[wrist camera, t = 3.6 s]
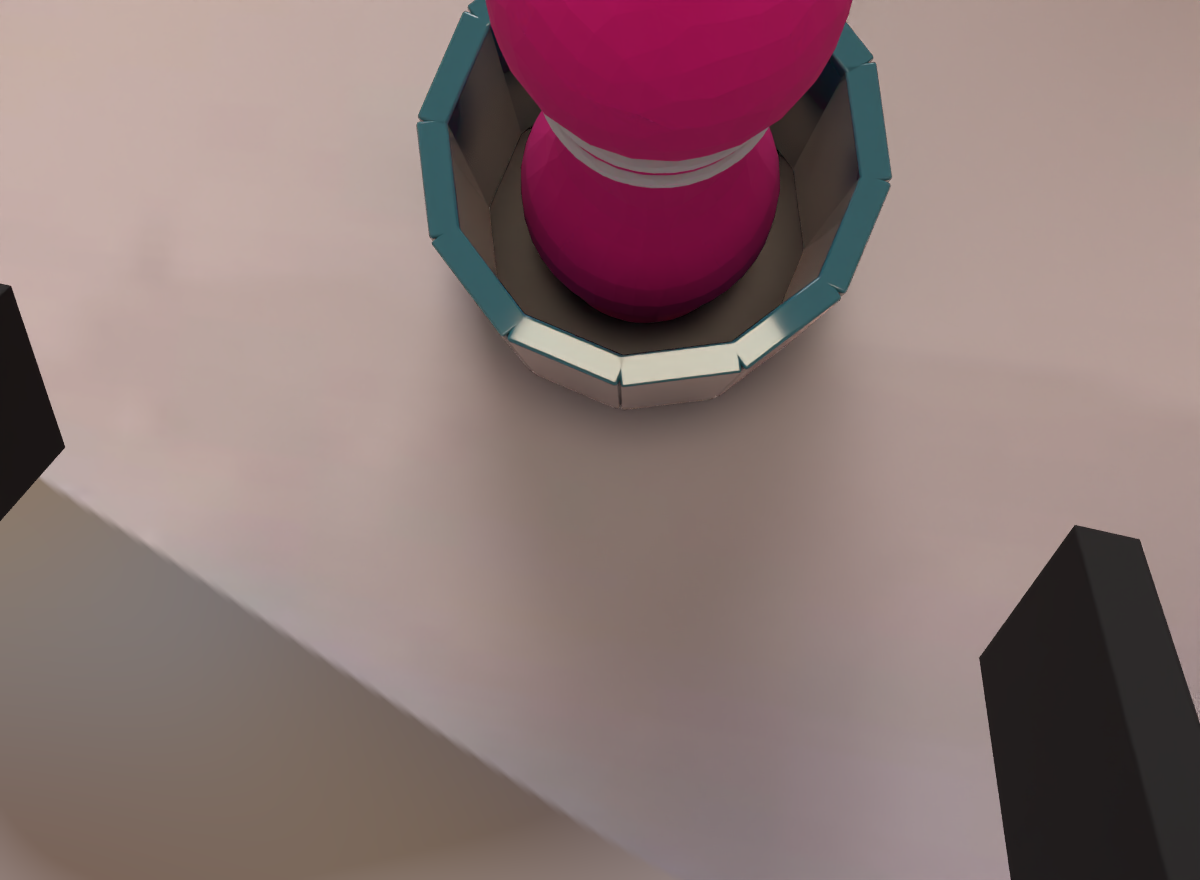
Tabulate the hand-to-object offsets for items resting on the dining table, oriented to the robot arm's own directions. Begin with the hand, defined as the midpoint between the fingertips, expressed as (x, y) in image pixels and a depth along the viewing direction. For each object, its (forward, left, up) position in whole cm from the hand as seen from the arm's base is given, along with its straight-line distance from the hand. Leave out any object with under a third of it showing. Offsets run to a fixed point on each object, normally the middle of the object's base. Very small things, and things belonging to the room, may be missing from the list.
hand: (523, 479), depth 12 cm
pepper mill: (+5, -7, -19) cm, 21 cm away
